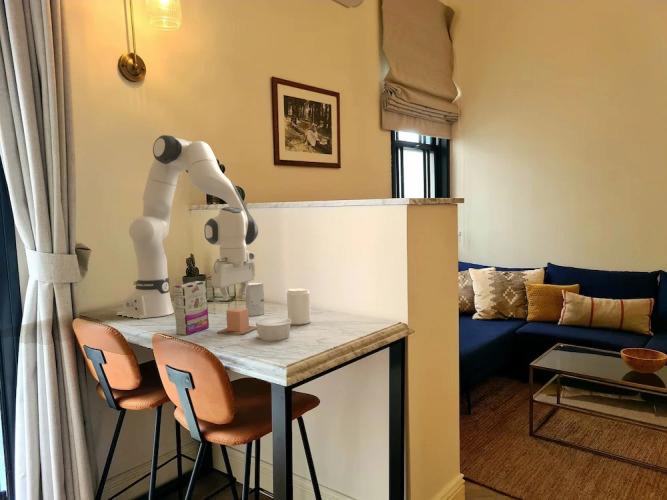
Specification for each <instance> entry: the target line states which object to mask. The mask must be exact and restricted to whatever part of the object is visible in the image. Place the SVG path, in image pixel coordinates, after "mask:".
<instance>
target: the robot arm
mask: <svg viewBox="0 0 667 500" xmlns="http://www.w3.org/2000/svg"><path fill="white" fill-rule="evenodd" d="M152 154H153V158H154V159H153V160H152V164H151V166H150V169H149V171H148V176H147V178H146V182H145V188H144V191H143V194H142V200H143V201H142V202H143V203H142V205H143V207H142V208H143V210H142V216H139V217H137V218H136V219H134V220H133V221H132V222H131V224H130V225H129V228H128V234H129V237H130V238H131V240H132V244H133V249H134V252H135V256H136V257H135V258H136V261H137V263H136V264H137V278H138V279H137V280H135V281H134V282H133V286H135V289H134V290H133V291H132V292H131V293H130V294H128V295H127V296H126V297H125V298H124V299H123V302H122V310H120V311H117V312H116V316H118V315H122V316H121V317H124V316H127V317H126V318H130V317H133V318H132V319H137V318H139V319H141V320H142V319H146V318H147V319H149V318H158V317H165V316H168V315H172V314H175V309H174V307H173V306H174V305H173V304H172V303H173V302H172V299H171V294H170V278H169V275H168V272H169V271H168V258H167V256H166V253H165V249H164V245H163V241H164V240H165V239H166V238H167V237H168V235H169V233H170V226H171V225H170V224H171V217H172V207H173V203H174V197H175V193H176V189H177V184H178V181H179V176H180V174H181V173H182V172H184V171H185V172H186V173H187V175H188V177H189V180H190V183H191V184H192V186H193V187H194V188H195V189H196V190H197V191H199V192H201V193H203V194H206V195H210V196H213V197H216V198H219V199H221V200H222V201H224V202H226V204H227V206H226V207H225V206H224V207H221V208H220V210H219V213H218V214H217V215H216V216H214V217H211V218H209V219H208V220H207V221H206V223H205V224H204V238H205V240H206V241H207V242H208V243H209V244H211V245H213V246H219V258H217V259H216V260H215V262H214V263H213V267H212V270H211V286H212V288H215V289H219V292H220V293H221V295H222V300H223V301H229V300H230V298H231V296H230V295H231V294H229V292H228V290H229V289H228V288H229V287H232V286H235V285H239V284H240V289H239V290H238V294H239V296H245V295H246V288H247V285H248V282H250V281H253V280H255V276H256V264H255V261H254V260H255V259H256V255H255V254H256V253H254V252H251V251H250V250H247V249H248V246H247V245H249V246H250V245H251V244H252V243H253V242H254V241H255V240H256V238H257V237H258V235H259V227H258V224H257V222H256V220H255V219H254V217H253V216H252V215H251V213H250V212H249V209H248V207H247V206H246V204H245V202H244V200H243V198H242V196H241V194H240V192H239V190H238V188H237V186H236V185H235V183H234V182H233V181H232V180H231V179H229V178H228V177H227V176H226V175H225V174H224V173H223V172H222V170H221V168H220V166H219V163H218V160H217V157H216V156H215V154H214V152H213V150H212V148H211V146H210V145H209V144H208V143H207V142H205V141H202V140H197V141H191V140H188V139H184V138H179V137H175V136H171V135H168V134H167V135H164V134H163V135H160V136H159V137H157V139H156V140H155V141H154V143H153V147H152Z"/></svg>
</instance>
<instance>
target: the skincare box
mask: <svg viewBox="0 0 667 500" xmlns="http://www.w3.org/2000/svg"><path fill="white" fill-rule="evenodd" d="M244 296H245V309H248V315H249V317H253V316H261V315H265V299H264V296H265V295H264V283H263V282H249V283H248V285H247V288H246V295H244Z"/></svg>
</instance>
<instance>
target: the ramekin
mask: <svg viewBox="0 0 667 500" xmlns="http://www.w3.org/2000/svg"><path fill="white" fill-rule="evenodd" d="M291 325H292V324H291V320H290V319H288V317H281V316H280V317H279V316H278V317H277V316H276V317H267V318H266V317H265V318H262V319H258V320H256V322H255V326H256V327H257V329H256V330H257V333H258V337H259V338H260V340H262V341H267V342H269V341H270V342H277V341H283V340H285V339H287V338H288V337H289V336H290V331H291Z"/></svg>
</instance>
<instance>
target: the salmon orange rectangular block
mask: <svg viewBox="0 0 667 500" xmlns="http://www.w3.org/2000/svg"><path fill="white" fill-rule="evenodd" d="M225 314H226V328H227V330H228V331H240V332H241V331H243V330H245V329H248V328H249V326H250V322H249V321H250V320H249V319H250V318H249V317H250V316H249V315H248V309H246V308H243V307H234V308H231V309H228V310H226V313H225Z"/></svg>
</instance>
